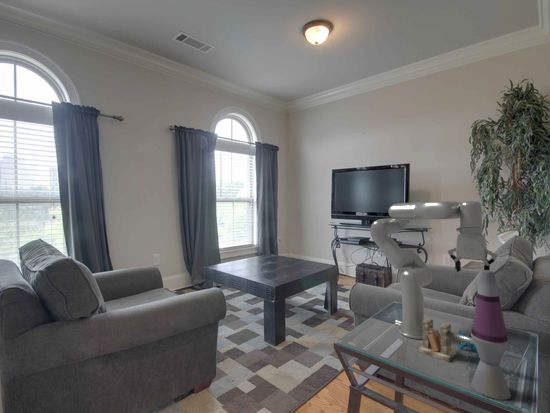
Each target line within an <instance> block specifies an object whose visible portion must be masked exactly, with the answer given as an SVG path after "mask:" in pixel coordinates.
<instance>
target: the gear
mask: <svg viewBox="0 0 550 413" xmlns="http://www.w3.org/2000/svg"><path fill="white" fill-rule="evenodd" d="M457 334H460V335H464V336H467V337H469V336H468V335H466V334H465V333H464V332H462V330H459V331H458V332H457ZM465 347H471V350H472V351H473V352H475V353H476V354H478V352H477V349H476V347H475V345H472V344H469V343H466V342H462V341H461V343H460V346H459V347H458V349H459V350H462V349H463V348H465Z"/></svg>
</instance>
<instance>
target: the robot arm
mask: <svg viewBox="0 0 550 413" xmlns="http://www.w3.org/2000/svg"><path fill="white" fill-rule="evenodd" d="M482 206H483V205H482V203H481V202H480V201H450V200H449V201H434V202H433V201H431V202H430V201H429V202H421V201H417V202H416V201H415V202H401V203H400V202H398V203H394V204H392V205H391V206H390V207H388V215H389V217H390V218H380V219H376V220H374V221H373V222H372V224H371V225H370V237H371V239H372V240H373V242H374V243H375V245H376V246H377V247H378V248H379V250H380V251H381V252H382V253H383V255H384V256H385V258H386V260H387V261H388V262H389V263H390V265H391V266H392V267H393V268H394V269H395V270H403V271H402V272H401V273H400V275H399V284H400V288H401V301H402V302H401V303H402V304H401V306H402V310H401V311H402V312H401V313H402V315H401V316H402V320H399V319H395V322H394V323H395V326H398V327H400V328H399V331H400V332H399V333H400V335H402V336H404V337H406V338H409V339H414V340H423V321H424V320H425V307H424V306H425V304H424V303H425V302H424V300H425V299H424V294H423V291H422V288H423V287H425V286H428V285H430V284H431V283H432V282H433V279H434V276H433V273H432V271H431V269H430V268H429V266H428V265H427V264H426V263H425V261H423V259H422V258H421V257H420V255H419V254H418V253H417V252H415V251H414V250H413V249H411V248H410V249H409V248H404V249H402V248H401V247H400V246H399V245H398V243H397V241H396V240H394V238H392V237H391V236H389V235H394V234H395V235H396V234H397V233H399V232H401V231H402V230H403V229H404V228H405V226H406V225H408V224H409V223H410V222H411V221H422V220H451V219H452V220H454V219H459V224H460V225H459V227H457V228H456V230H455V231H456V232H458V234H457V239H456V247H455V248H451V249H450V250H447V252H448V255H449V256H450V258H451V259H452V260H453V261H454V268H455V270H456V272H458V273H459V272H460V271H461V269H462V265H461V264H462V263H461V259H462V260H472V261H482V262H483V263H484V265H483V270H490V266H491V264H493V263H494V262H495V261H496V260H497V258H498V254H497V253H495V252H493V251H491V250H489V249H488V248H487V242H486V237H485V234H483V207H482ZM454 253H455V255H454ZM488 255H490V256H491V258H490V259H488ZM490 271H491V270H490Z"/></svg>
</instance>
